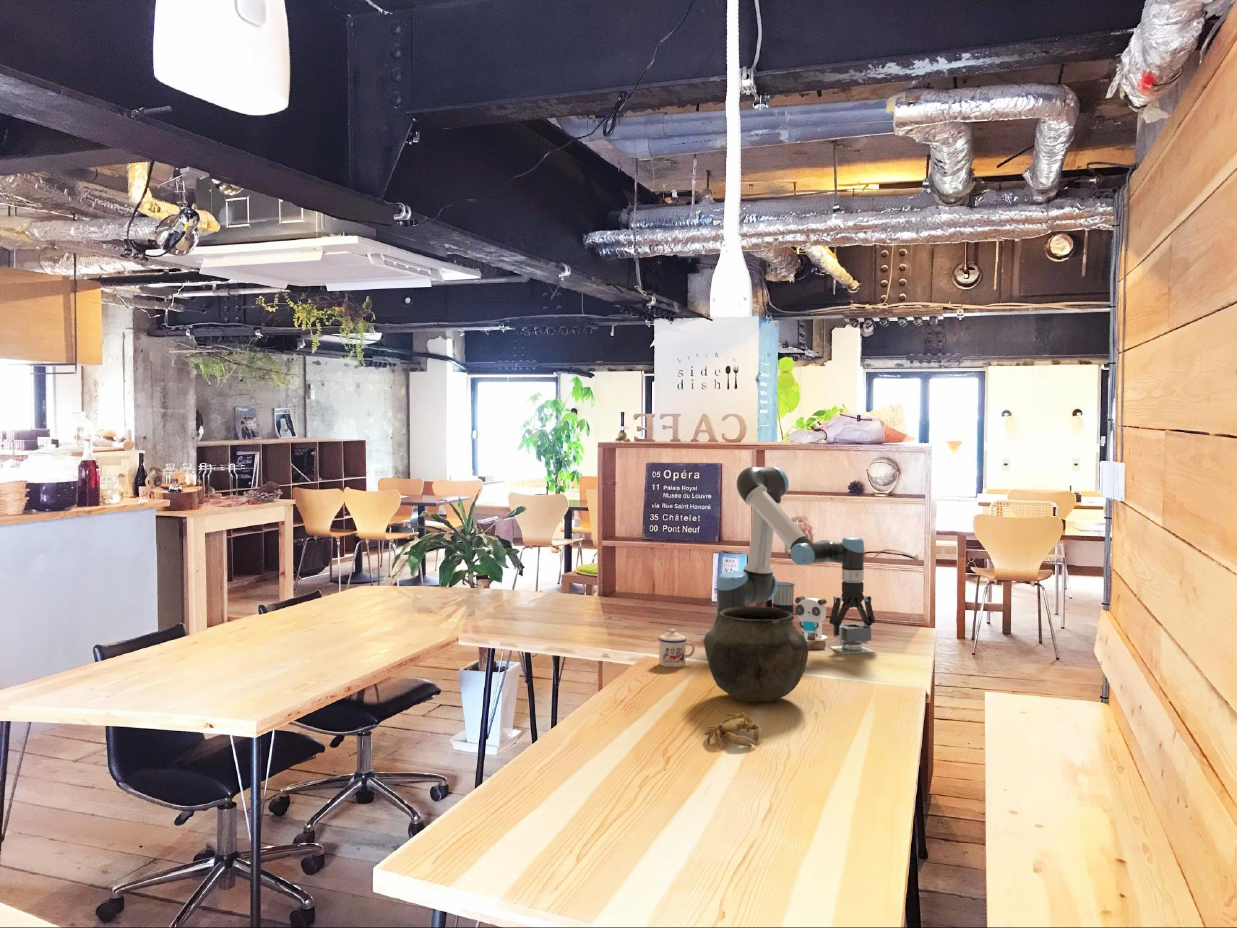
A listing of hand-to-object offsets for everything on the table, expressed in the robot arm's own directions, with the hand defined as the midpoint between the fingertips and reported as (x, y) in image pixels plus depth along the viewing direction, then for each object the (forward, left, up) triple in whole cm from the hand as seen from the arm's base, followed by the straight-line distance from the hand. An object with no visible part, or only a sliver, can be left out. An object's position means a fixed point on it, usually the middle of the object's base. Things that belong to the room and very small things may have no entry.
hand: (851, 643), depth 320 cm
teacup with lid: (-68, -6, -2) cm, 68 cm away
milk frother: (-2, +61, -2) cm, 61 cm away
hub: (0, 0, -2) cm, 2 cm away
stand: (-12, +8, -2) cm, 14 cm away
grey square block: (0, 0, +2) cm, 2 cm away
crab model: (-79, -83, -3) cm, 115 cm away
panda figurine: (-4, +24, -2) cm, 24 cm away
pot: (-59, -51, -2) cm, 78 cm away
